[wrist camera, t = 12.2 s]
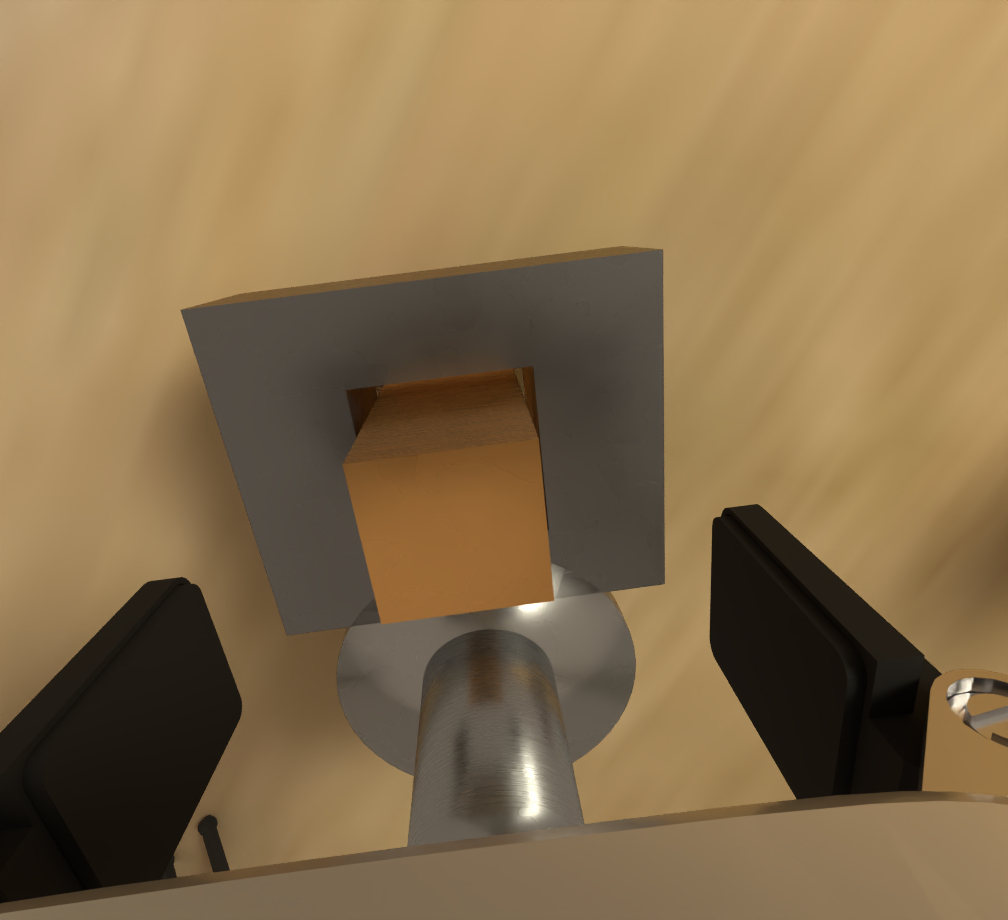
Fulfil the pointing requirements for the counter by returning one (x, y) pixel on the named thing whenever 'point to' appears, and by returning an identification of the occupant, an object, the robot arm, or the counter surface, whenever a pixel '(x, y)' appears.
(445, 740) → the block with square hole
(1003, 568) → the counter surface
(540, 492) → the wooden block
